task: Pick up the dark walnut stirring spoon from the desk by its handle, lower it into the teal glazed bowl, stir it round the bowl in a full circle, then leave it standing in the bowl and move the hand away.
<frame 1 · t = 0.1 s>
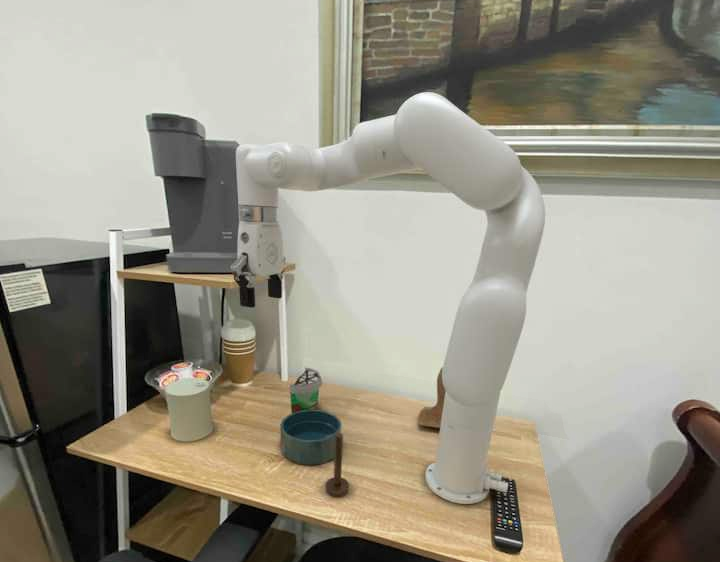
hand: (262, 301, 82), 31 cm above the table, tool pointing down, fingers open, 9 cm apart
stirring spoon: (337, 489, 75), on the table
food container: (309, 412, 102), on the table
brown wooden bookend: (446, 423, 101), on the table
can: (192, 431, 91), on the table
bowl: (311, 447, 87), on the table
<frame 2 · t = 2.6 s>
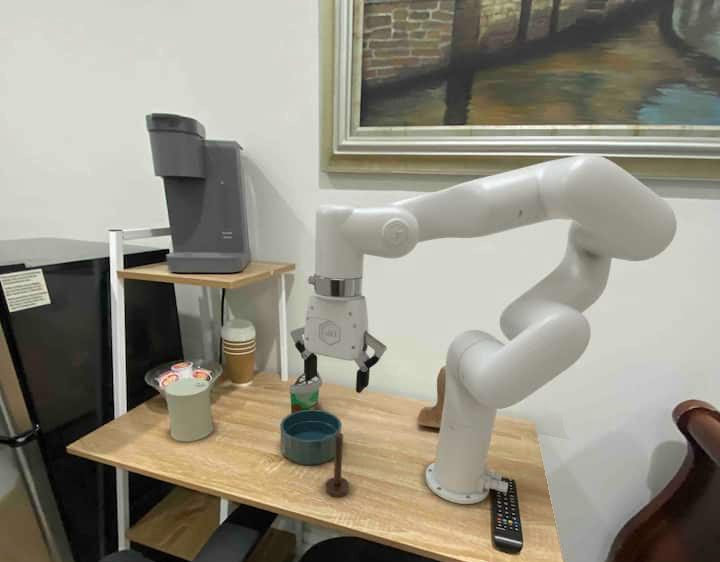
hand: (335, 383, 68), 22 cm above the table, tool pointing down, fingers open, 9 cm apart
nothing on the table moved.
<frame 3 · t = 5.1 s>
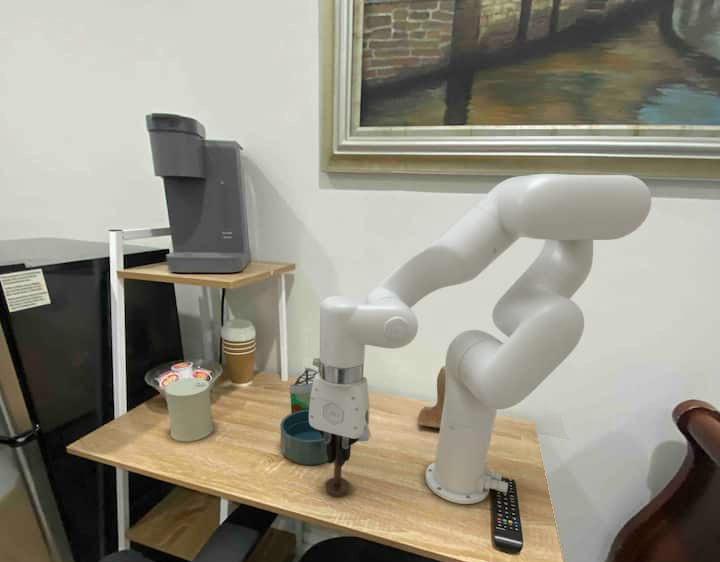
hand: (338, 460, 72), 7 cm above the table, tool pointing down, fingers closed on stirring spoon
stirring spoon: (337, 489, 75), on the table, touching gripper
everything else where it was.
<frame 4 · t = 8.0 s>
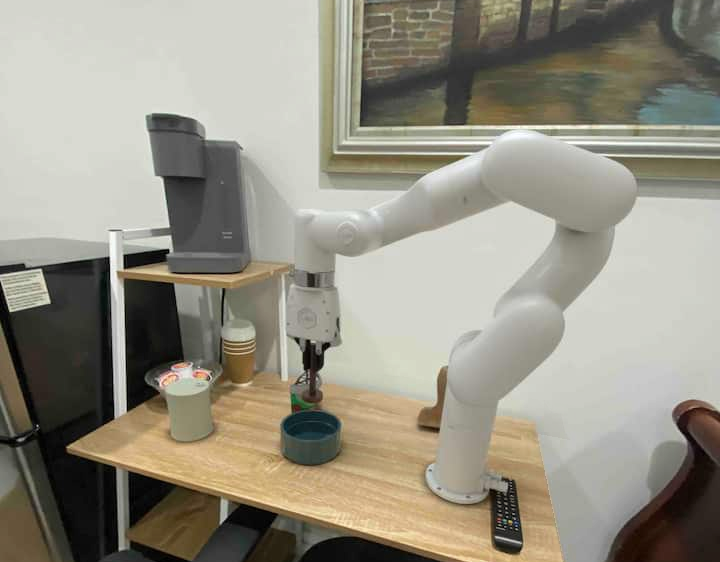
hand: (313, 369, 79), 20 cm above the table, tool pointing down, fingers closed on stirring spoon
stirring spoon: (312, 398, 82), point 13 cm above the table, touching gripper
everything else where it was.
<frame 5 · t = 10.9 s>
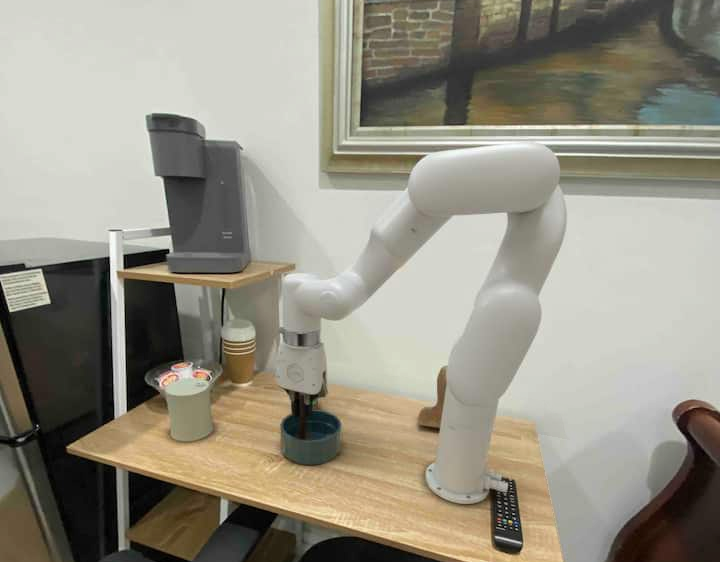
hand: (302, 416, 85), 8 cm above the table, tool pointing down, fingers closed on stirring spoon
stirring spoon: (302, 442, 87), point 1 cm above the table, touching gripper
everything else where it was.
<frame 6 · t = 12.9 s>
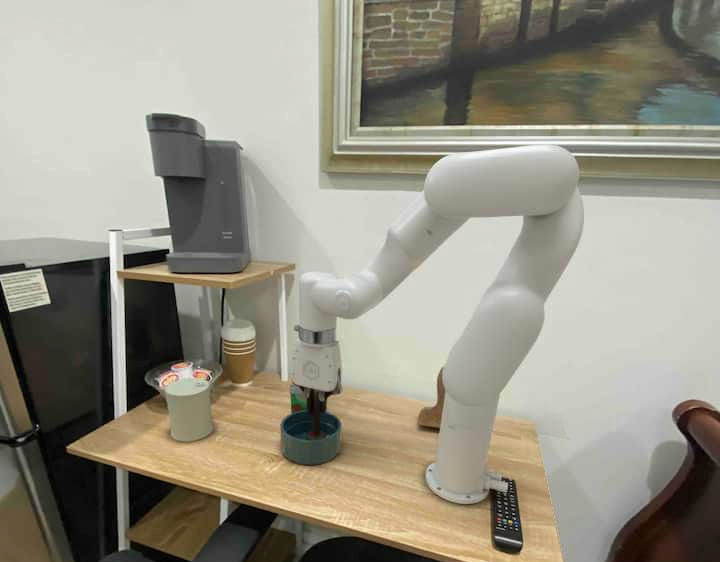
hand: (316, 412, 86), 8 cm above the table, tool pointing down, fingers closed on stirring spoon
stirring spoon: (315, 439, 88), point 1 cm above the table, touching gripper
everything else where it was.
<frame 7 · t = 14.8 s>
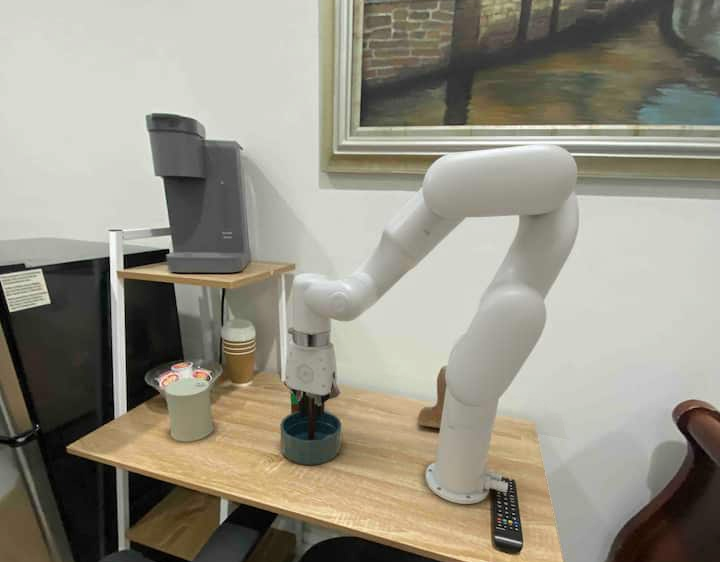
hand: (311, 416, 84), 8 cm above the table, tool pointing down, fingers closed
stirring spoon: (311, 445, 87), point 1 cm above the table, touching bowl
everything else where it was.
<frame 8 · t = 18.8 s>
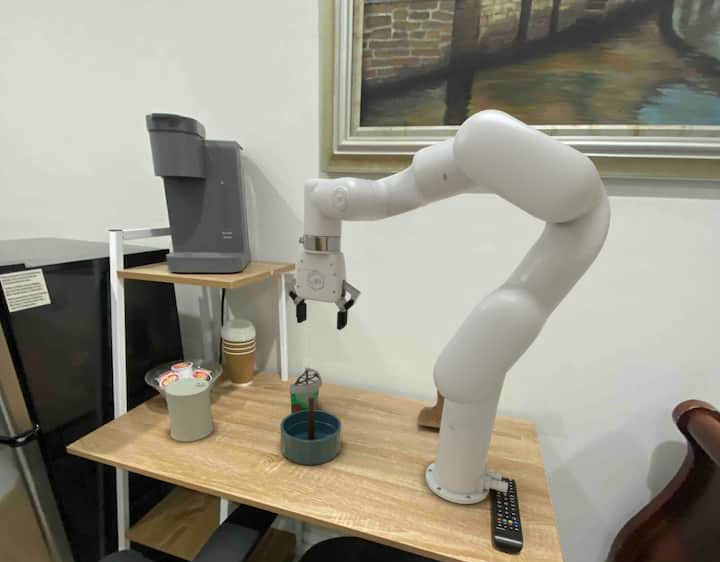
hand: (321, 324, 86), 26 cm above the table, tool pointing down, fingers open, 9 cm apart
nothing on the table moved.
at the end: stirring spoon inside the target area in the bowl (0.1 cm from its centre), point 0.6 cm above the bowl's base; stirring spoon tilted 0°; stirring spoon moved 14.8 cm from its start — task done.
